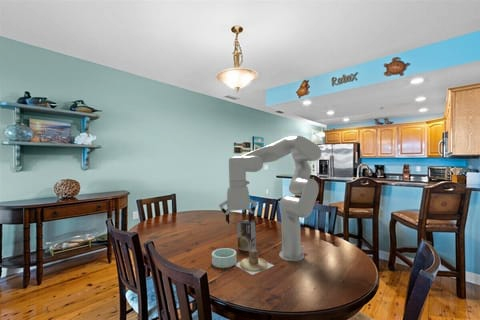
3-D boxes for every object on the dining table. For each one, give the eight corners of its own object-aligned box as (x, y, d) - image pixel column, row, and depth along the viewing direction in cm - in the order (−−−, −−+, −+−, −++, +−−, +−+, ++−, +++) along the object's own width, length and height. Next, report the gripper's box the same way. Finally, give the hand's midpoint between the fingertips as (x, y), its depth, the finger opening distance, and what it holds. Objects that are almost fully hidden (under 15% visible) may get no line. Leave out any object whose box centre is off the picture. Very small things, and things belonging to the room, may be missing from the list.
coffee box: (256, 248, 137) (256, 220, 137) (251, 252, 131) (251, 223, 131) (243, 246, 141) (242, 218, 141) (237, 249, 136) (236, 221, 136)
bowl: (227, 255, 128) (226, 246, 128) (241, 263, 118) (240, 253, 118) (207, 262, 120) (207, 252, 120) (220, 270, 111) (220, 260, 111)
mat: (254, 257, 125) (254, 256, 125) (274, 266, 114) (274, 265, 114) (233, 265, 116) (233, 264, 116) (252, 275, 105) (252, 274, 105)
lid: (254, 257, 124) (254, 243, 124) (272, 265, 114) (272, 250, 114) (234, 264, 116) (234, 249, 116) (252, 274, 106) (252, 258, 106)
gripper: (255, 182, 112) (256, 218, 112) (218, 184, 110) (219, 221, 110) (258, 184, 104) (259, 223, 104) (218, 186, 102) (220, 225, 102)
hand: (239, 222), depth 107 cm, fingers open, 9 cm apart
